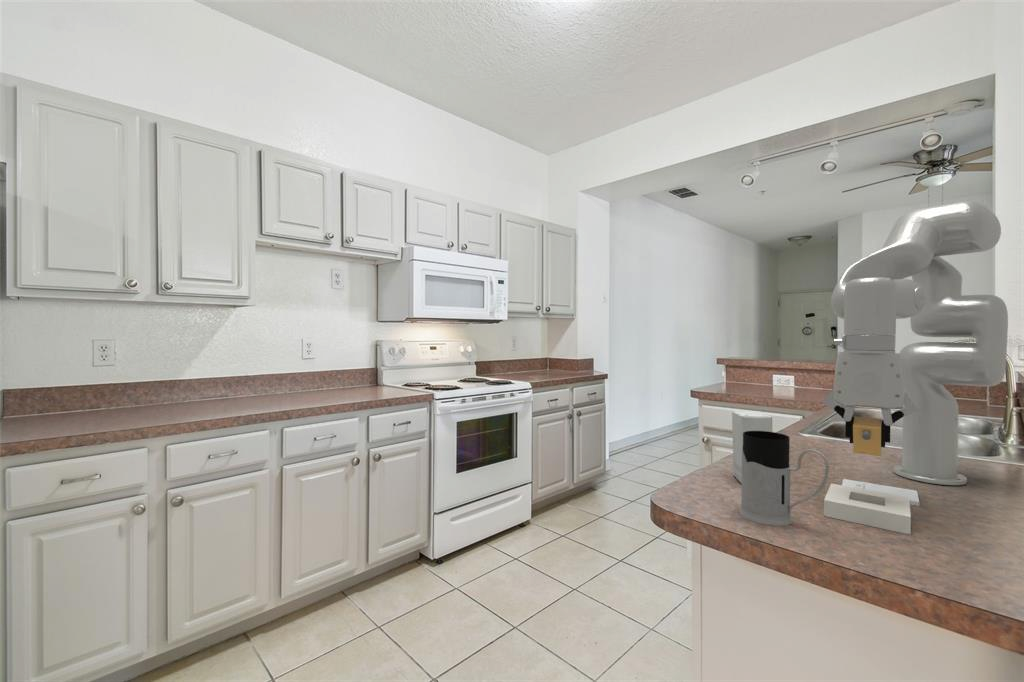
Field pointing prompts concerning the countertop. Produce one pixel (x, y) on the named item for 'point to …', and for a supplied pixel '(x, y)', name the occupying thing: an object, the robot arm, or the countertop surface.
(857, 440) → the plug
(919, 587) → the countertop surface
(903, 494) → the external hard drive
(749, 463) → the glass holder
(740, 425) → the skincare box
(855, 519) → the socket
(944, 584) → the countertop surface
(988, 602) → the countertop surface
